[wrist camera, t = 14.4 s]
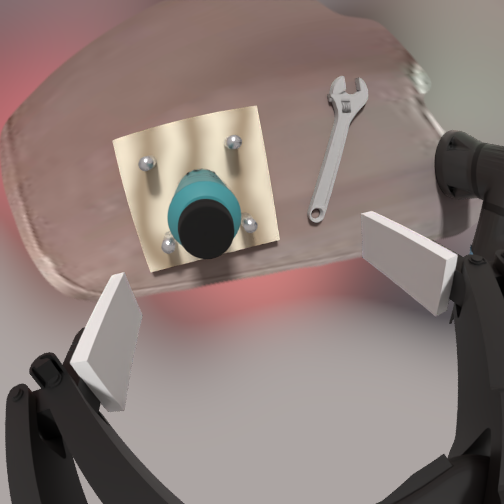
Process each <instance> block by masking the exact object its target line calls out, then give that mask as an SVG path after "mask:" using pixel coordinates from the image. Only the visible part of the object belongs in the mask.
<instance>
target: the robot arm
mask: <svg viewBox="0 0 504 504" xmlns="http://www.w3.org/2000/svg"><path fill="white" fill-rule="evenodd" d="M435 170H436V177H437V181H438V184H439V186H440V188H441V190H442V191H443V193H444V194H445V195H447V196H449V197H452V198H454V199H472V198H479V199H482V200H483V204H482V208H481V213H480V217H479V221H478V225H477V229H476V232H475V236H474V239H473V243H472V245H471V247H470V254H469V255H466V256H465V257H462V256H460V255H459V254H457V253H455V252H453V251H451V250H449V249H448V248H445V247H444V246H442V245H440V244H439V243H437V242H435V241H433V240H430V239H428V238H426V237H424V236H422V235H420V234H418V233H416V232H414V231H412V230H410V229H408V228H406V227H404V226H402V225H400V224H398V223H396V222H394V221H392V220H390V219H388V218H386V217H384V216H381V215H379V214H377V213H375V212H373V211H370V212H366V213H361V223H362V258H364V259H365V260H367V261H368V262H369V263H370V264H372V265H373V266H374V267H376V268H377V269H378V270H379V271H381V272H382V273H383V274H384V275H386V276H387V277H388V278H389V279H391V280H392V281H393V282H394V283H396V284H397V285H398V286H399V287H401V288H402V289H403V290H404V291H406V292H407V293H408V294H410V296H412V297H413V298H414V299H415V300H417V301H418V302H419V303H420V304H421V305H422V306H424V307H425V308H426V309H427V310H429V311H430V312H431V313H432V314H433V315H434V316H435V317H436V316H438V315H440V314H442V313H443V312H445V311H447V308H448V304H449V299H451V300H452V301H453V302H454V307H453V311H452V314H451V319H450V324H451V323H452V320H453V319H454V322H455V323H454V324H455V332H456V343H457V359H458V411H457V426H456V436H455V440H454V443H453V445H452V447H451V450H450V452H449V455H448V459H447V457H446V456H445V455H444V454H443V455H441V456H440V457H439V458H437V459H436V460H434V461H433V462H431V463H430V464H428V465H427V466H425V467H424V468H422V469H421V470H419V471H417V472H416V473H414V474H413V475H412V476H410V478H408V479H407V480H406V481H405V482H404V483H403V484H402V485H401V486H400V487H398V488H397V489H396V490H395V491H394V492H392V493H391V494H390V495H389V496H388V497H387V498H385V499H384V500H383V501H381V502H379V503H376V504H504V146H499V145H494V144H488V143H483V142H481V141H479V140H477V139H475V138H474V137H472V136H470V135H468V134H467V133H465V132H462V131H456V130H451V131H448V132H446V133H445V134H444V135H443V136H442V138H441V140H440V142H439V144H438V147H437V151H436V158H435ZM142 316H143V315H142V313H141V310H140V308H139V306H138V304H137V301H136V299H135V297H134V294H133V292H132V290H131V287H130V285H129V282H128V280H127V278H126V275H125V273H124V272H123V273H119V274H115V275H112V276H111V278H110V280H109V282H108V283H107V285H106V287H105V289H104V291H103V293H102V295H101V297H100V299H99V301H98V303H97V305H96V307H95V309H94V311H93V313H92V315H91V317H90V319H89V321H88V323H87V325H86V327H85V328H82V329H81V330H80V331H79V332H78V334H77V335H76V336H75V338H74V340H73V342H72V345H71V347H70V349H69V351H68V353H67V356H66V358H65V360H64V362H63V365H62V364H61V362H60V361H59V359H58V358H57V357H56V355H55V354H54V353H50V352H49V353H44V354H43V355H41V356H39V357H38V358H37V359H35V360H34V362H33V363H32V364H31V367H30V371H29V372H30V375H31V376H32V377H33V379H34V380H35V381H36V382H37V384H38V385H39V386H40V387H41V389H39V390H36V391H33V392H32V391H31V390H30V389H29V388H28V386H27V385H26V384H19V385H17V386H15V387H13V388H12V389H11V390H10V392H9V394H8V397H7V401H6V422H5V440H6V441H5V442H6V462H7V473H8V482H9V489H10V496H11V501H12V504H88V503H87V500H86V498H85V495H84V492H83V489H82V486H81V483H80V480H79V477H78V474H77V471H76V467H75V464H74V460H73V458H74V459H75V461H76V463H77V464H78V466H79V468H80V470H81V471H82V473H83V475H84V476H85V478H86V479H87V481H88V483H89V484H90V486H91V487H92V489H93V490H94V492H95V493H96V495H97V496H98V497H99V499H100V500H101V502H102V503H103V504H184V503H183V502H182V501H181V500H180V499H178V498H177V497H176V496H175V495H174V494H173V493H172V492H171V491H170V490H168V489H167V488H166V487H165V486H164V485H163V484H162V483H161V482H160V481H159V480H158V479H157V478H156V477H155V476H154V475H153V474H152V473H151V472H150V471H149V470H148V469H147V468H146V467H145V466H144V465H143V463H142V462H141V461H140V460H139V459H138V458H137V457H136V456H135V455H134V453H133V452H132V451H131V450H130V449H129V448H128V447H127V445H126V444H125V443H124V442H123V441H122V439H121V438H120V437H119V436H118V434H117V433H116V432H115V431H114V429H113V428H112V427H111V425H110V424H109V423H108V421H107V420H106V419H105V417H104V416H103V415H102V414H101V413H100V412H99V407H100V403H101V404H102V405H103V406H104V408H105V409H106V410H107V411H108V412H113V411H124V410H125V403H126V396H127V390H128V385H129V379H130V373H131V367H132V362H133V357H134V352H135V348H136V343H137V338H138V334H139V329H140V325H141V320H142Z"/></svg>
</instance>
